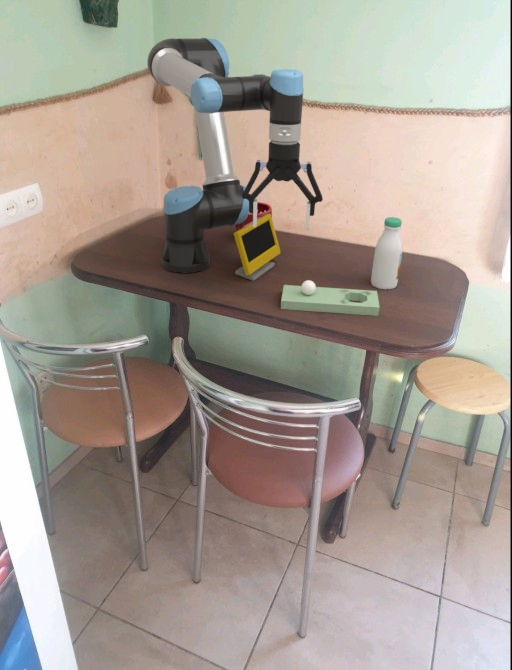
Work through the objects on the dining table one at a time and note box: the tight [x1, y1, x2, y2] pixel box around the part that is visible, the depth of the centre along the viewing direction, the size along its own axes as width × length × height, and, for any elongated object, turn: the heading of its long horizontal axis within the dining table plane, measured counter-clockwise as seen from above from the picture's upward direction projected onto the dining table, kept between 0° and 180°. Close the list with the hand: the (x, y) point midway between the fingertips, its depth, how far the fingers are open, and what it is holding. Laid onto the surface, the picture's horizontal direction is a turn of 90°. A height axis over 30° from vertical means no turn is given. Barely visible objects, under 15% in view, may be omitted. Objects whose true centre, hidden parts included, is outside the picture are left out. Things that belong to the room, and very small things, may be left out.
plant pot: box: [234, 201, 273, 232], centre depth 187 cm, size 13×13×12 cm
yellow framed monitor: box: [233, 214, 281, 282], centre depth 164 cm, size 20×8×16 cm, turn 151°
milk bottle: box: [370, 216, 404, 291], centre depth 155 cm, size 8×8×20 cm
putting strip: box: [280, 284, 381, 317], centre depth 148 cm, size 26×10×2 cm, turn 83°
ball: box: [300, 279, 317, 295], centre depth 147 cm, size 4×4×4 cm
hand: (281, 226), depth 141 cm, fingers open, 13 cm apart
